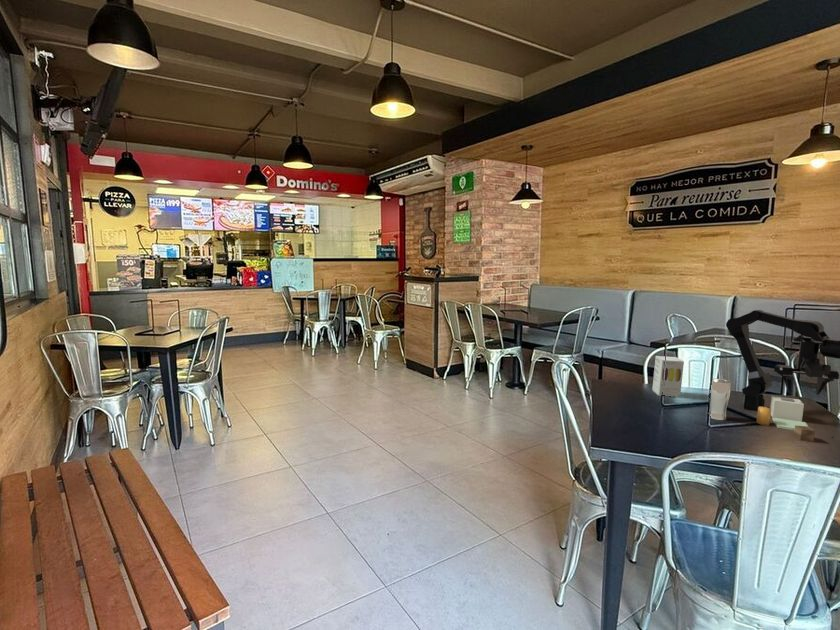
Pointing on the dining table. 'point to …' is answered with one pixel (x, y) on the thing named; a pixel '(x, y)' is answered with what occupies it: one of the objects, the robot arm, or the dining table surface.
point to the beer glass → (719, 398)
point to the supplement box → (668, 376)
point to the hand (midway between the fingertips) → (803, 393)
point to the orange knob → (763, 415)
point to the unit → (786, 408)
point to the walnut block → (804, 433)
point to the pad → (787, 423)
